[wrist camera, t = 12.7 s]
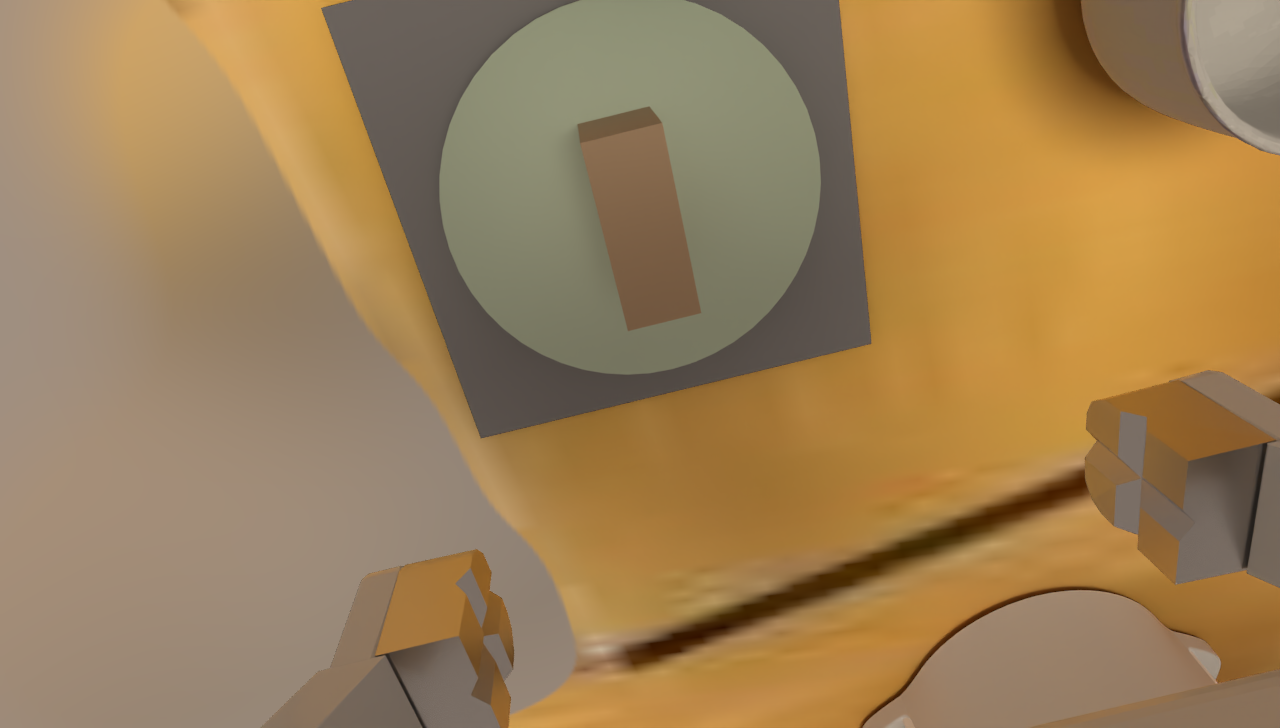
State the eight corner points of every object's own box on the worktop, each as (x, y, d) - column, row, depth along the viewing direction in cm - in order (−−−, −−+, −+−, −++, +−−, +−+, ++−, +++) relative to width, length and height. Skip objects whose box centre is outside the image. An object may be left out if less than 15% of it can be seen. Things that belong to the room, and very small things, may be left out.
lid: (831, 317, 30) (873, 368, 26) (507, 397, 30) (499, 460, 26) (785, -53, 24) (831, -61, 20) (386, 48, 24) (351, 60, 20)
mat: (867, 339, 31) (871, 343, 31) (482, 433, 31) (481, 438, 31) (823, -117, 24) (827, -118, 24) (324, 7, 24) (321, 8, 24)
